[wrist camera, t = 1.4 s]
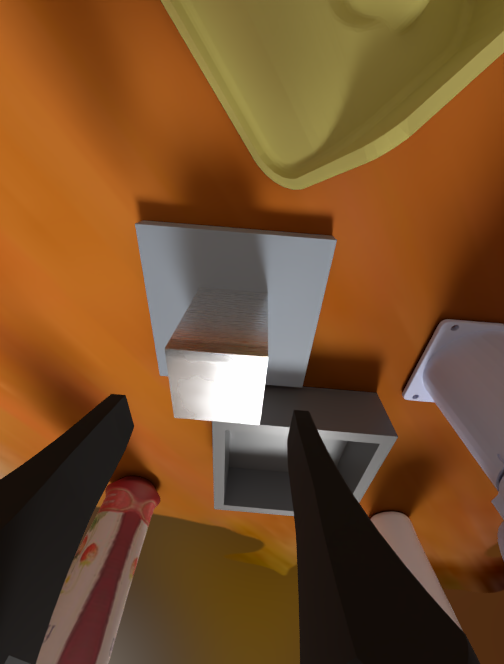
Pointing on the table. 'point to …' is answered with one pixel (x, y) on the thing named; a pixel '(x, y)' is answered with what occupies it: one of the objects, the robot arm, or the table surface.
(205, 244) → the base
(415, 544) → the drinking glass
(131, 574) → the liquor
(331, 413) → the bin
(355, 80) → the plastic component
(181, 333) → the light grey block
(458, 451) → the table surface
